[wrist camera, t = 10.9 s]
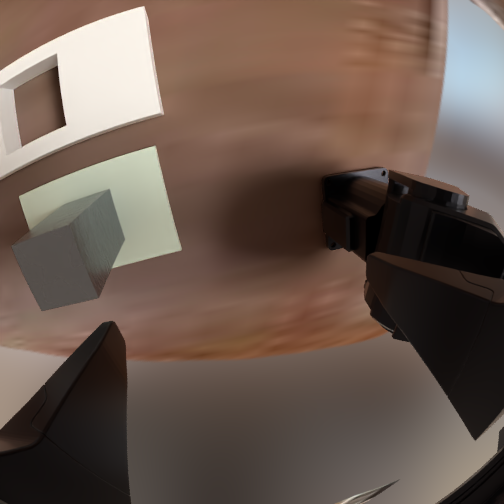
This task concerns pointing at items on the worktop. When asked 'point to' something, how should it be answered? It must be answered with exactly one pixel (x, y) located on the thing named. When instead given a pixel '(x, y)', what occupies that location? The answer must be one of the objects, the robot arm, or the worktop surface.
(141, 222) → the green pad
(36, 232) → the grey rectangular block
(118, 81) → the cream window plate
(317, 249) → the worktop surface
